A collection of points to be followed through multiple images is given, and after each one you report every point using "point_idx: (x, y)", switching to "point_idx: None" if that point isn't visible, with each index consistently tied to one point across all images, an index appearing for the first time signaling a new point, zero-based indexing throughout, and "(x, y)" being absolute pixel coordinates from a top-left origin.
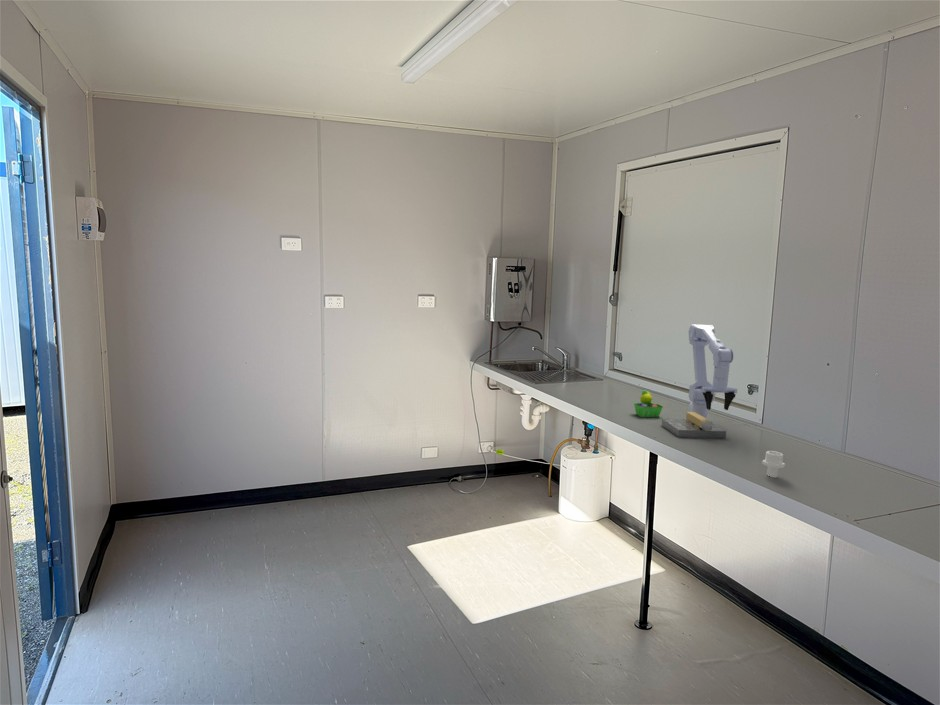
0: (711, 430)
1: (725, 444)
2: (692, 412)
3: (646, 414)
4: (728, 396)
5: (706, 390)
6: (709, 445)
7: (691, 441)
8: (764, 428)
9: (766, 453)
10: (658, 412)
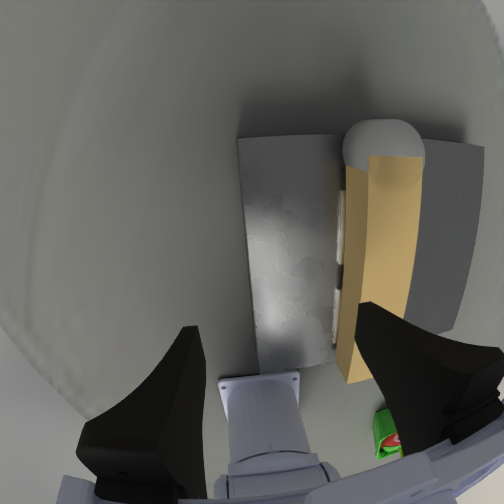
0: (338, 143)
1: (288, 21)
2: (365, 372)
3: None
4: (180, 446)
5: (493, 432)
6: (377, 13)
7: (434, 77)
8: (22, 350)
9: None
10: (386, 419)
